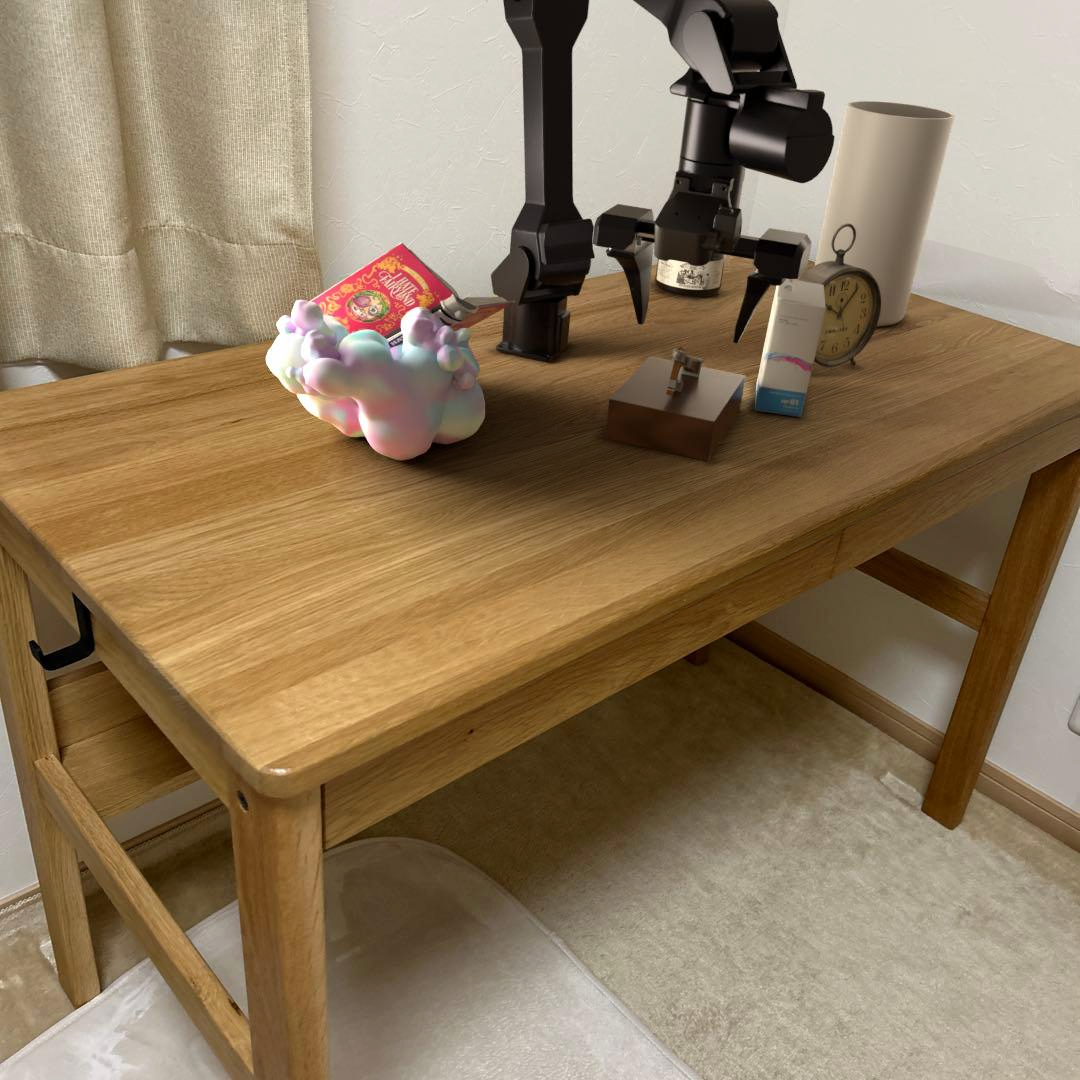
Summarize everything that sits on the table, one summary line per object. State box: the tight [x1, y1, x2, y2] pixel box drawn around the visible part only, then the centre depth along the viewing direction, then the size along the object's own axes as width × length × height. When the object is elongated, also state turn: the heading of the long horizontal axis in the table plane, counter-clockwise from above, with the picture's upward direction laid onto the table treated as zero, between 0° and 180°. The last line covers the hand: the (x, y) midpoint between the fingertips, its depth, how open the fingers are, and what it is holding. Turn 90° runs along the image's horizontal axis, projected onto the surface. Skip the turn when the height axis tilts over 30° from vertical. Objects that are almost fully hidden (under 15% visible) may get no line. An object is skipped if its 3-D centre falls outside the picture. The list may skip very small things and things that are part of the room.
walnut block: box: [604, 355, 746, 462], centre depth 104 cm, size 10×13×4 cm
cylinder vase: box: [814, 100, 956, 327], centre depth 135 cm, size 12×12×25 cm
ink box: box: [754, 279, 826, 418], centre depth 109 cm, size 9×5×12 cm, turn 168°
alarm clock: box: [797, 224, 881, 368], centre depth 118 cm, size 11×5×16 cm, turn 117°
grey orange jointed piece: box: [666, 346, 704, 396], centre depth 102 cm, size 2×8×4 cm, turn 157°
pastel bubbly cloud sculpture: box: [265, 241, 515, 461], centre depth 97 cm, size 20×22×18 cm
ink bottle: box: [654, 253, 727, 298], centre depth 142 cm, size 10×9×12 cm
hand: (688, 332), depth 100 cm, fingers open, 9 cm apart
